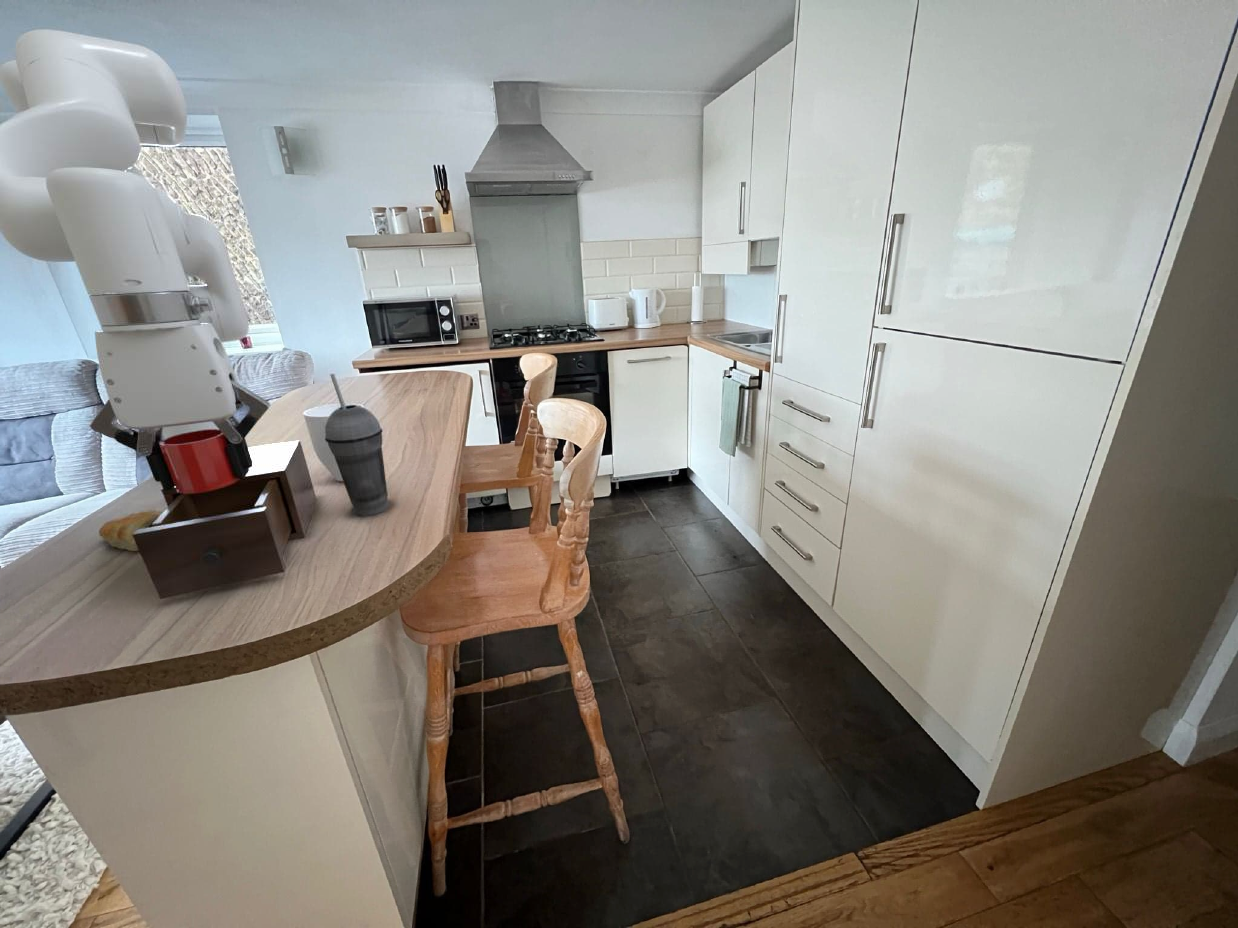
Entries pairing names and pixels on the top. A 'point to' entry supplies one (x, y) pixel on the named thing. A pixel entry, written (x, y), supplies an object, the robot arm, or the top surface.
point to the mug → (323, 435)
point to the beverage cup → (358, 455)
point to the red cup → (198, 461)
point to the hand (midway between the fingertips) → (208, 478)
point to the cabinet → (292, 475)
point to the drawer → (217, 538)
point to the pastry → (127, 529)
